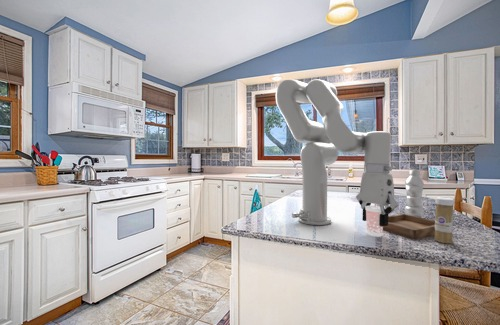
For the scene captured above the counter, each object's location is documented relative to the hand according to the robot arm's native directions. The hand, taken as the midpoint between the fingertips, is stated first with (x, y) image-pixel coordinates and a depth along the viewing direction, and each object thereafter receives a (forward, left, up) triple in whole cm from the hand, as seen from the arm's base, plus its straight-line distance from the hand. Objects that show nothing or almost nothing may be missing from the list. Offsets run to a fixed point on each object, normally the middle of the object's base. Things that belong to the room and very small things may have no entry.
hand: (374, 222), depth 84 cm
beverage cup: (0, 0, -4) cm, 4 cm away
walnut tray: (+16, 0, -4) cm, 17 cm away
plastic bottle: (+34, +10, -4) cm, 36 cm away
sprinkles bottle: (+14, -13, -4) cm, 20 cm away
